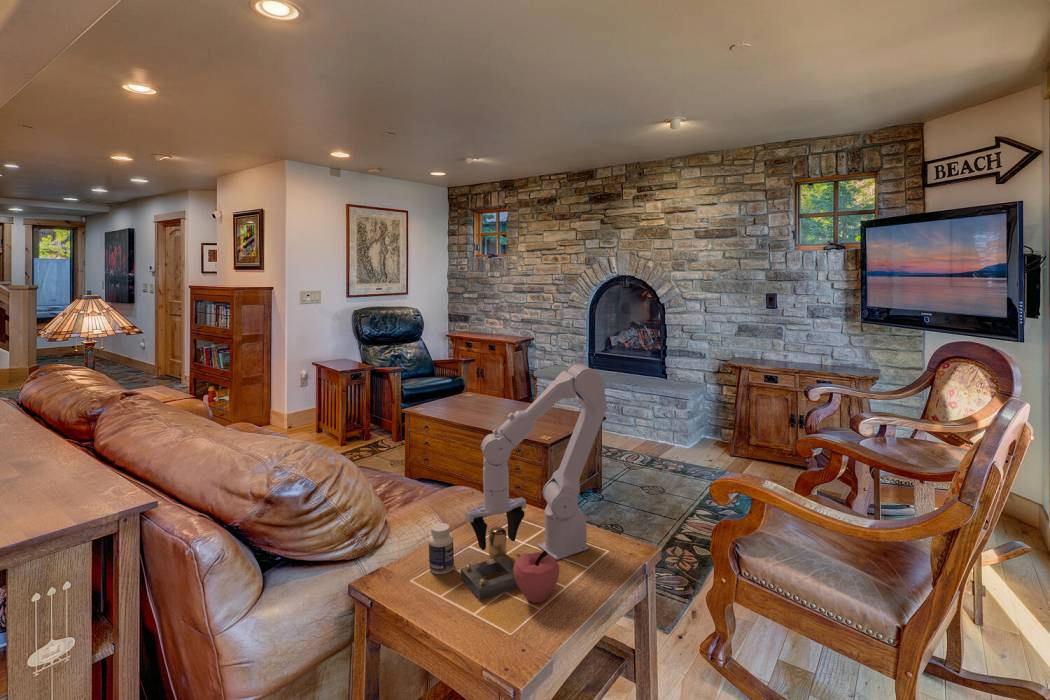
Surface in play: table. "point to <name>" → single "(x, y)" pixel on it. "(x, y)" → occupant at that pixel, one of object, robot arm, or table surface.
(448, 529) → the pill bottle
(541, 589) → the apple
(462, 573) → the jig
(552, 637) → the table surface
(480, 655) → the table surface
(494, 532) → the brass cylinder
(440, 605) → the table surface
